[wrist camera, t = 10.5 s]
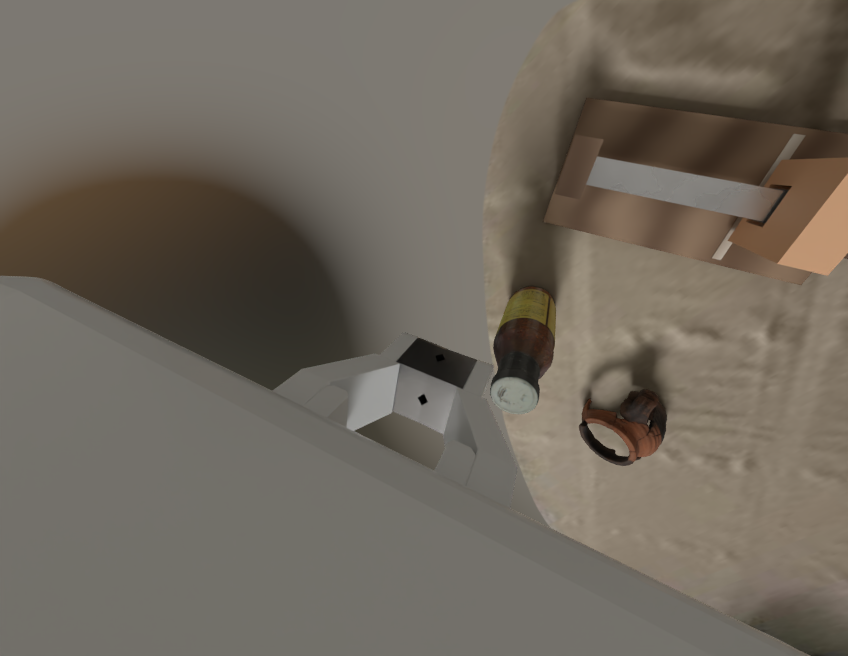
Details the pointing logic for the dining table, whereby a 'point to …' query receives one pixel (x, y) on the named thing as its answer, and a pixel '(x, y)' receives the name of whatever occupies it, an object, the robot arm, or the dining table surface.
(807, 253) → the collar
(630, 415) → the broken clay pot
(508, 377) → the sauce bottle
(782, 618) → the dining table surface
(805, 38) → the dining table surface
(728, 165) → the rod stand
